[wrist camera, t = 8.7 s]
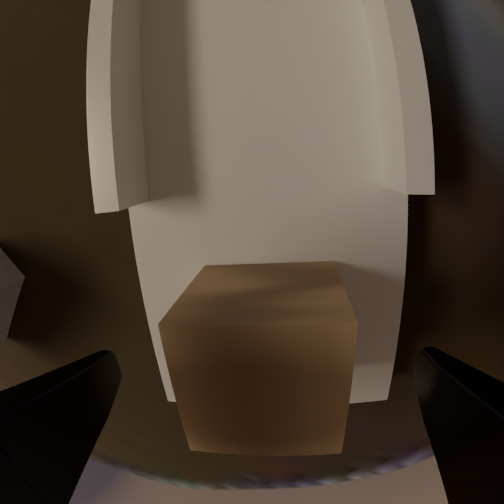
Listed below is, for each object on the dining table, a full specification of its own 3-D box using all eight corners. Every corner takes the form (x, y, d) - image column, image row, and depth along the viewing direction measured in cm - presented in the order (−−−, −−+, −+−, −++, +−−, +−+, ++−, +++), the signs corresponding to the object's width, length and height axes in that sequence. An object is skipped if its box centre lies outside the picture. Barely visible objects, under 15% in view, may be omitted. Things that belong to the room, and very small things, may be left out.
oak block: (333, 260, 12) (357, 321, 7) (329, 368, 13) (341, 453, 9) (204, 265, 13) (157, 324, 8) (218, 369, 14) (190, 450, 9)
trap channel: (343, -89, 9) (352, -138, 5) (379, 376, 16) (398, 434, 11) (145, -67, 10) (112, -106, 6) (179, 379, 17) (152, 433, 13)
